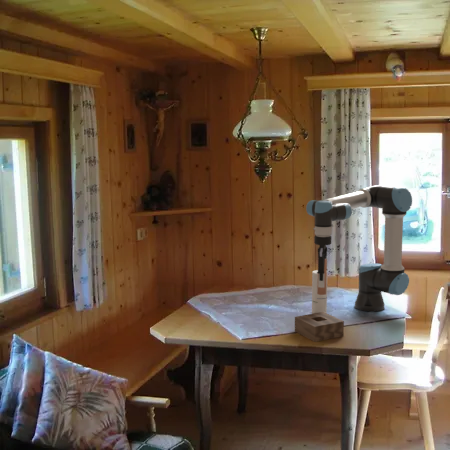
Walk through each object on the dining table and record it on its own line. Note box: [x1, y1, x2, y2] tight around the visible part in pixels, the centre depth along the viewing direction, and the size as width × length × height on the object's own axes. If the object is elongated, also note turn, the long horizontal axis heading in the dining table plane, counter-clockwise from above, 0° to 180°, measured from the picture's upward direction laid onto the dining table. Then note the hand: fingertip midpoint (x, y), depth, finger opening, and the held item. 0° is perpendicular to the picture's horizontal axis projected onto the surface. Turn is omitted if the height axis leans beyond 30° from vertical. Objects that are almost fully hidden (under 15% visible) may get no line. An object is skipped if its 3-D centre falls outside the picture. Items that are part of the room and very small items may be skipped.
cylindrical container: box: [311, 269, 328, 314], centre depth 308 cm, size 7×7×25 cm
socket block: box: [294, 312, 345, 342], centre depth 292 cm, size 16×16×7 cm
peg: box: [317, 258, 328, 295], centre depth 288 cm, size 4×4×16 cm
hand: (321, 285), depth 289 cm, fingers closed on peg, 4 cm apart
